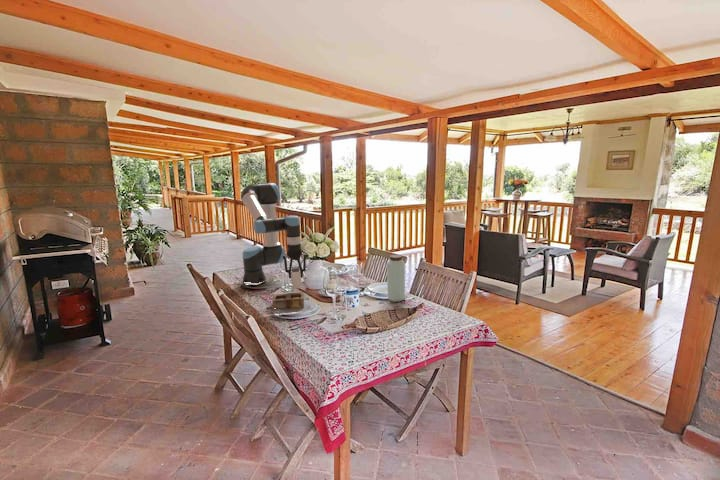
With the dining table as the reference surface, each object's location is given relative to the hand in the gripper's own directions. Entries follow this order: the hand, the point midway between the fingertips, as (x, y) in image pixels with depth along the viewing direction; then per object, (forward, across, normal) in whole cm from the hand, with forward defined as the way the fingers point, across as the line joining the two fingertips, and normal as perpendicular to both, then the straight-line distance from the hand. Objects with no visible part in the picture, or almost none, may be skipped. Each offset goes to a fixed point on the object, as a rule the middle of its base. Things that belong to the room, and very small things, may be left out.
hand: (296, 283), depth 203 cm
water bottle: (+9, +55, -14) cm, 58 cm away
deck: (+9, 0, -1) cm, 9 cm away
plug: (+3, 0, 0) cm, 3 cm away
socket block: (+9, -4, -12) cm, 15 cm away
